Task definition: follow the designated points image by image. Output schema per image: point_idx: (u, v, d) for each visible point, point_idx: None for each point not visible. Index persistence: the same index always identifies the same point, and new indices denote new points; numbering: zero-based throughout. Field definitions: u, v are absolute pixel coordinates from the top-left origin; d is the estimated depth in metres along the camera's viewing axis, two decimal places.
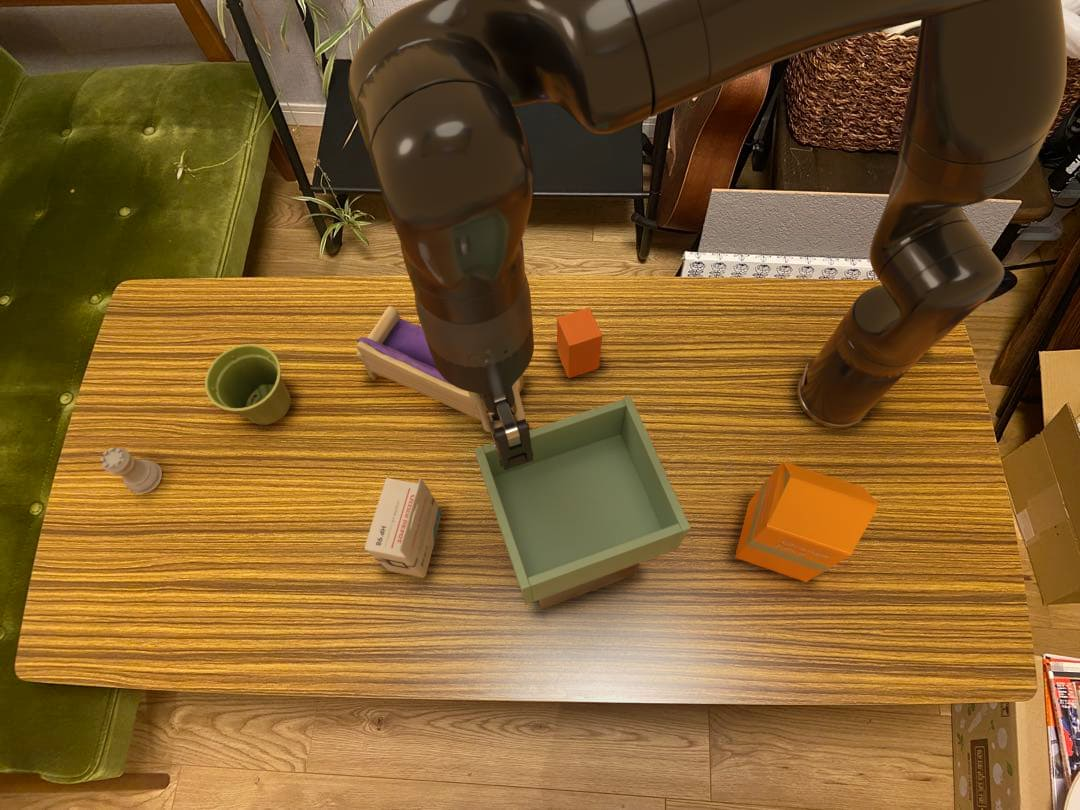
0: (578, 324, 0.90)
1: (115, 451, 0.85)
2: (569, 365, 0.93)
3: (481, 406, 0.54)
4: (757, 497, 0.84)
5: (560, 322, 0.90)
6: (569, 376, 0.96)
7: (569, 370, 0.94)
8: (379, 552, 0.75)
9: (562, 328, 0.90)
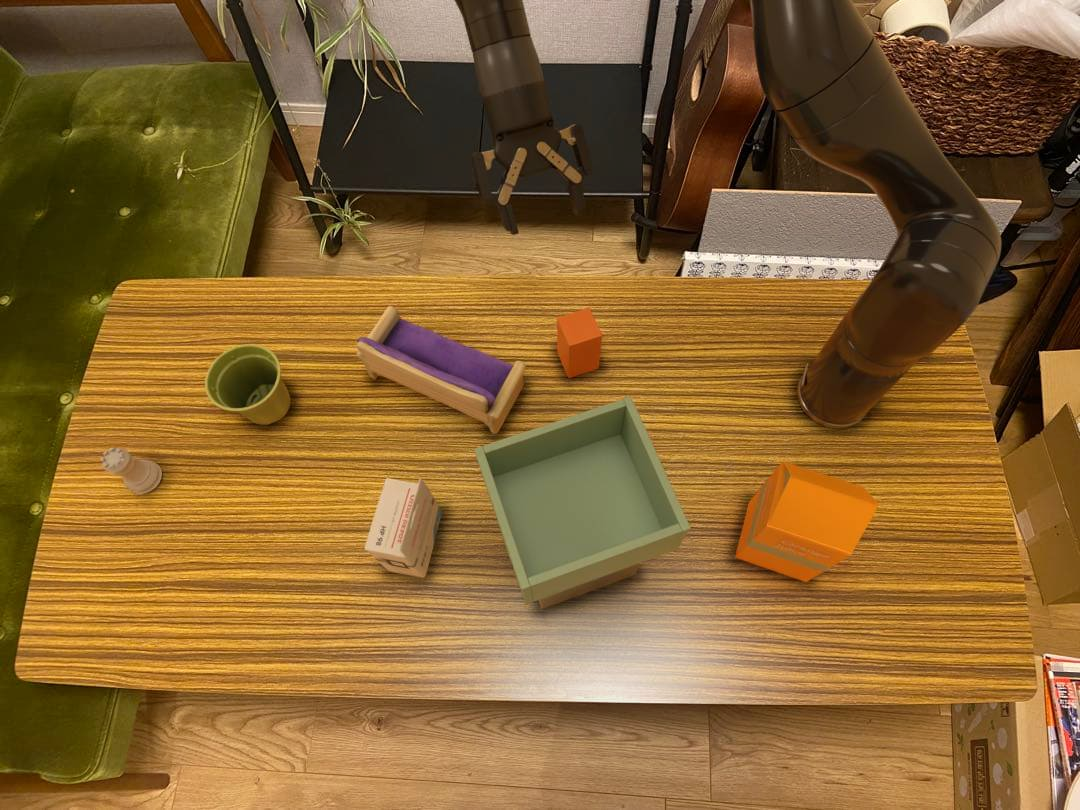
0: (578, 324, 0.90)
1: (115, 451, 0.85)
2: (569, 365, 0.93)
3: None
4: (757, 497, 0.84)
5: (560, 322, 0.90)
6: (569, 376, 0.96)
7: (569, 370, 0.94)
8: (379, 552, 0.75)
9: (562, 328, 0.90)
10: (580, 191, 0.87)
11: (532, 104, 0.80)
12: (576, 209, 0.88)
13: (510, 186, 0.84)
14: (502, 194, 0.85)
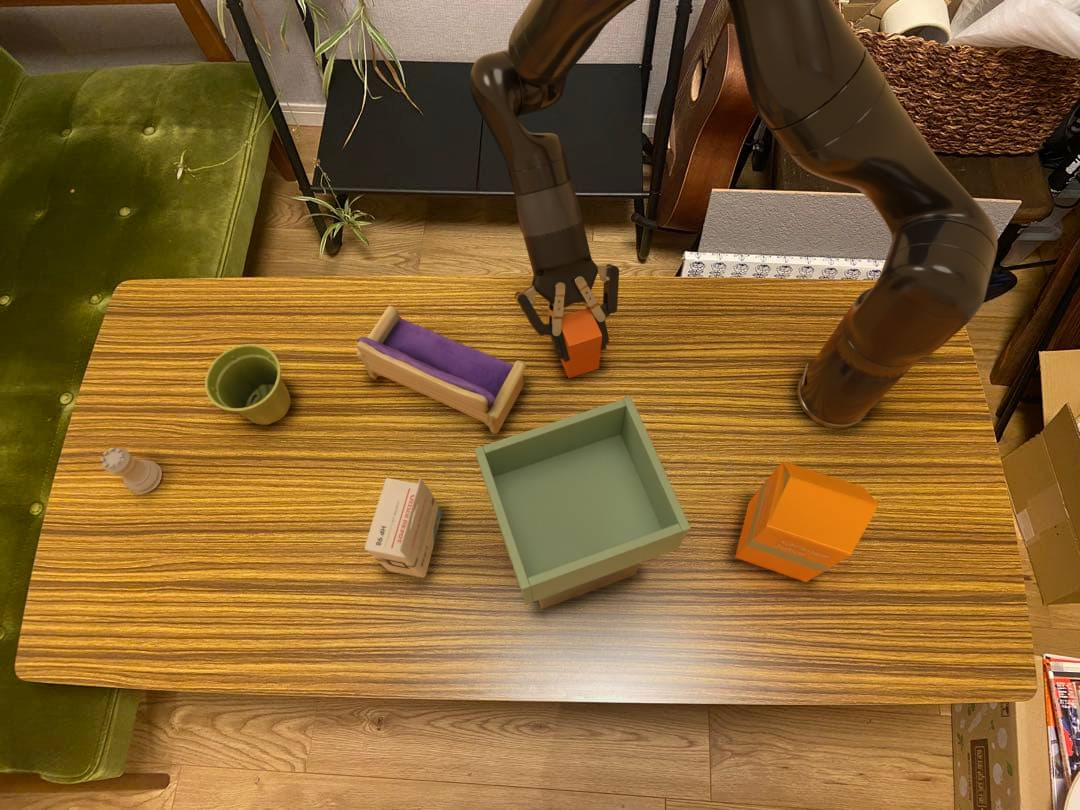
0: (578, 324, 0.90)
1: (115, 451, 0.85)
2: (569, 365, 0.93)
3: None
4: (757, 497, 0.84)
5: None
6: (569, 376, 0.96)
7: (569, 370, 0.94)
8: (379, 552, 0.75)
9: (562, 328, 0.90)
10: (603, 328, 0.91)
11: (572, 245, 0.84)
12: None
13: (559, 318, 0.89)
14: (556, 326, 0.89)
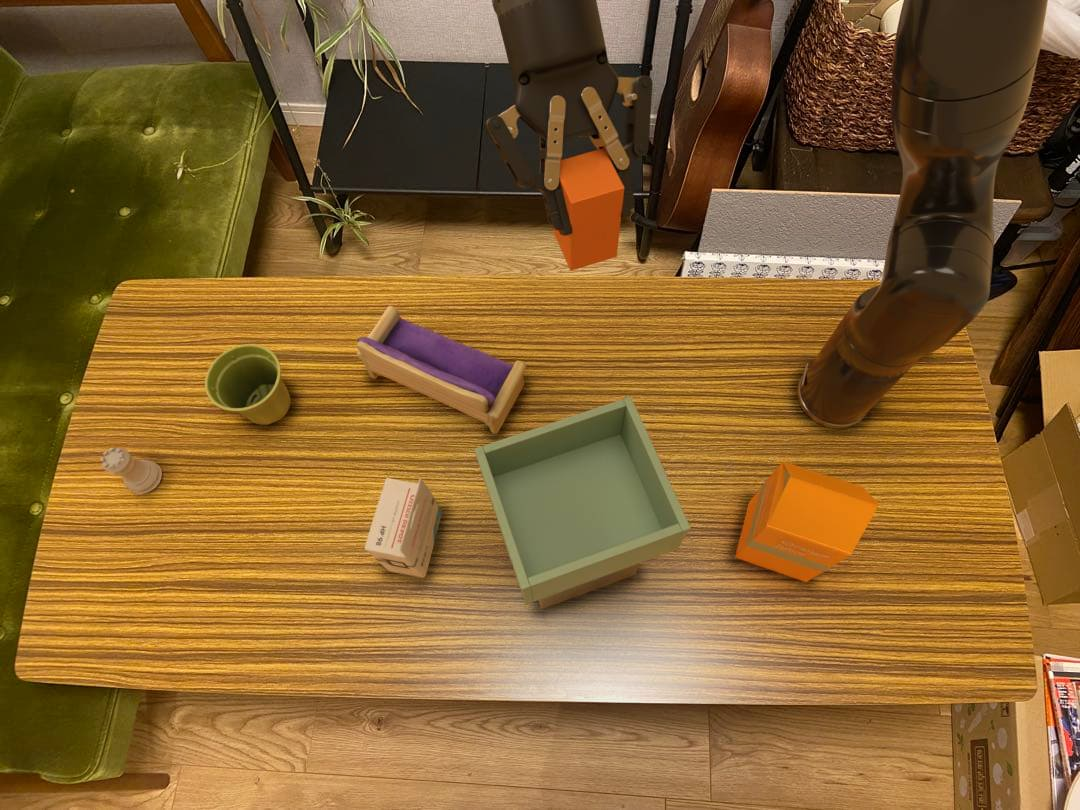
0: (585, 171, 0.56)
1: (115, 451, 0.85)
2: (572, 244, 0.60)
3: None
4: (757, 497, 0.84)
5: None
6: (572, 267, 0.63)
7: (572, 255, 0.61)
8: (379, 552, 0.75)
9: (561, 178, 0.56)
10: (626, 182, 0.58)
11: (577, 23, 0.51)
12: None
13: (556, 159, 0.55)
14: (550, 174, 0.56)
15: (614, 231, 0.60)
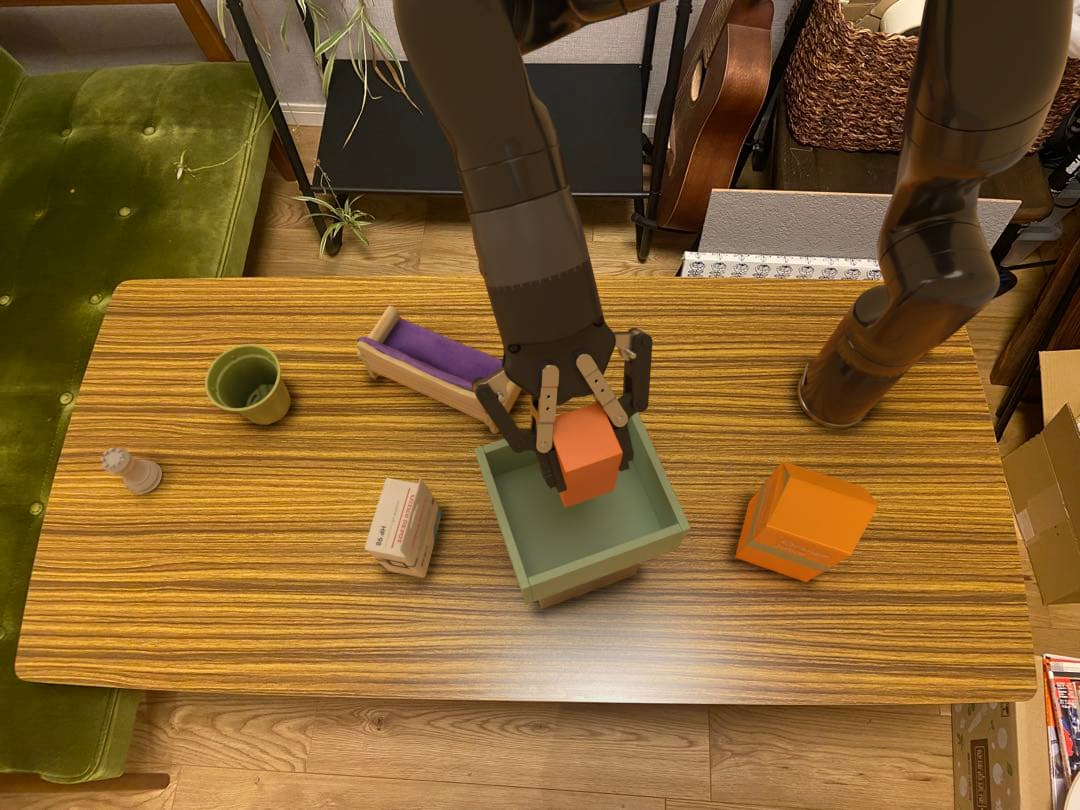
0: (581, 431, 0.52)
1: (115, 451, 0.85)
2: (566, 494, 0.56)
3: None
4: (757, 497, 0.84)
5: None
6: (566, 505, 0.59)
7: (566, 499, 0.57)
8: (379, 552, 0.75)
9: (554, 439, 0.52)
10: (624, 436, 0.54)
11: (571, 302, 0.46)
12: None
13: (549, 423, 0.51)
14: (543, 437, 0.52)
15: (611, 478, 0.56)
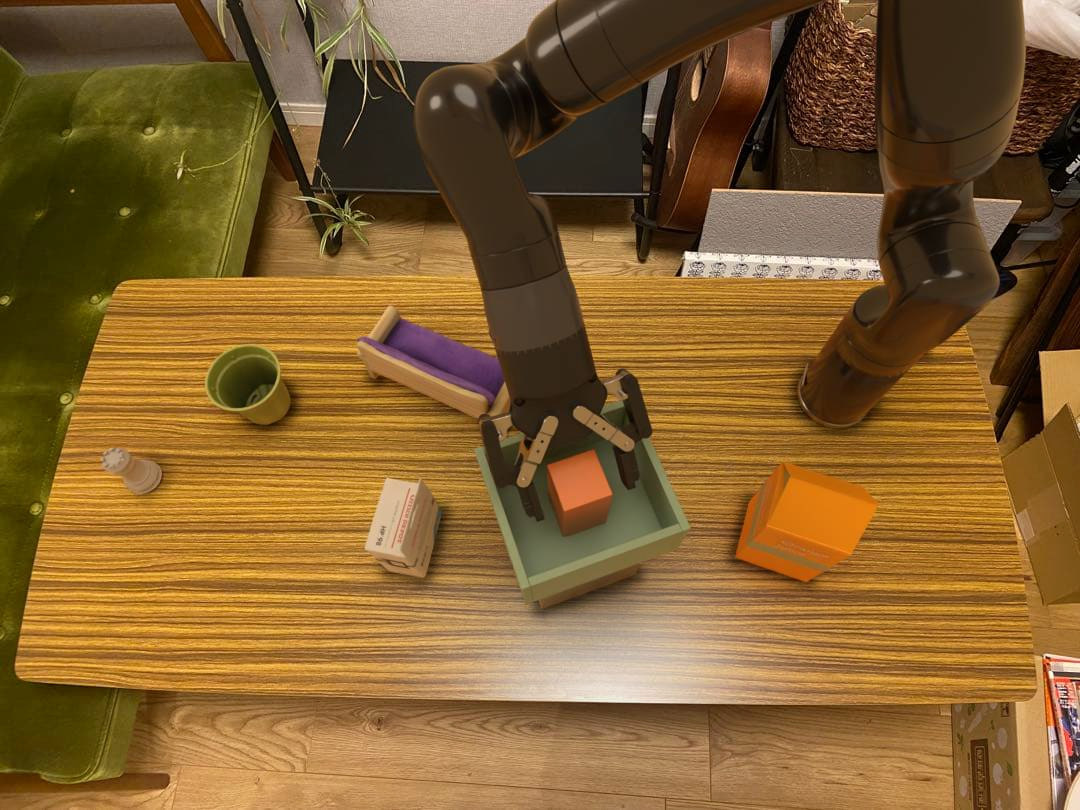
0: (577, 475, 0.61)
1: (115, 451, 0.85)
2: (565, 527, 0.65)
3: None
4: (757, 497, 0.84)
5: (551, 473, 0.62)
6: (565, 535, 0.68)
7: (565, 531, 0.66)
8: (379, 552, 0.75)
9: (554, 482, 0.61)
10: (631, 459, 0.61)
11: (568, 365, 0.54)
12: (626, 482, 0.62)
13: (534, 464, 0.59)
14: (522, 474, 0.59)
15: (604, 513, 0.65)
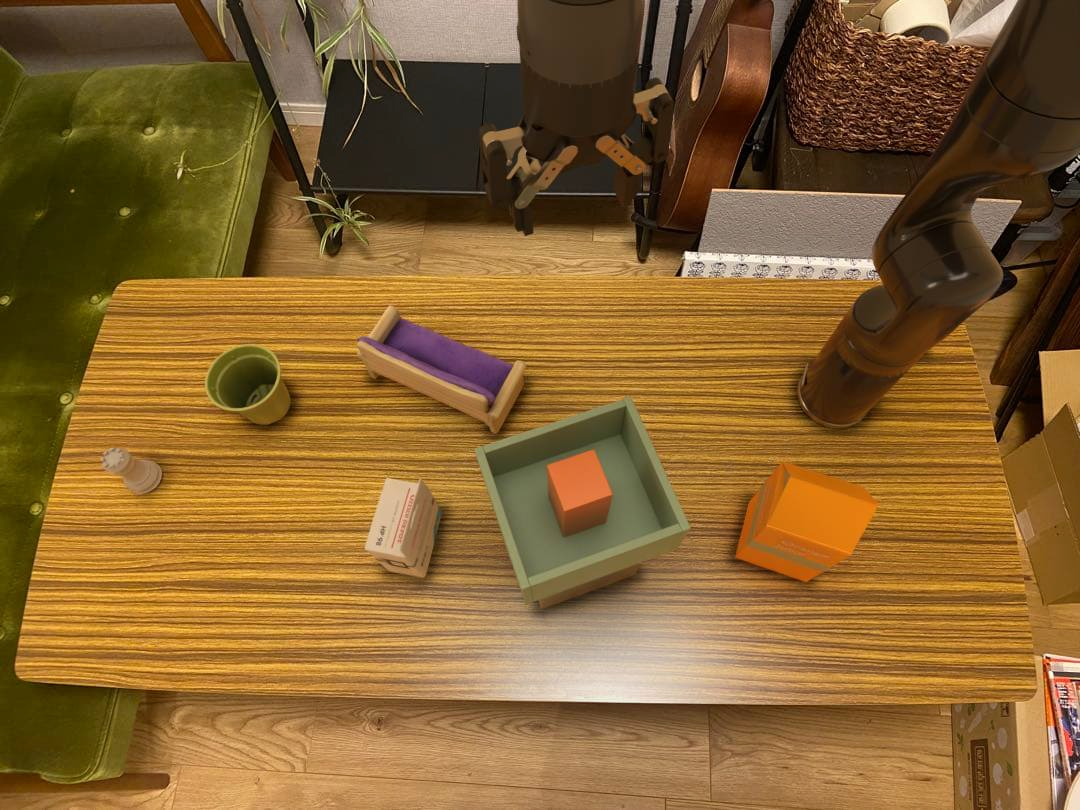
0: (577, 475, 0.61)
1: (115, 451, 0.85)
2: (565, 527, 0.65)
3: None
4: (757, 497, 0.84)
5: (551, 473, 0.62)
6: (565, 535, 0.68)
7: (565, 531, 0.66)
8: (379, 552, 0.75)
9: (554, 482, 0.61)
10: (635, 179, 0.56)
11: (614, 104, 0.44)
12: (622, 199, 0.57)
13: (538, 188, 0.52)
14: (522, 196, 0.52)
15: (604, 513, 0.65)
